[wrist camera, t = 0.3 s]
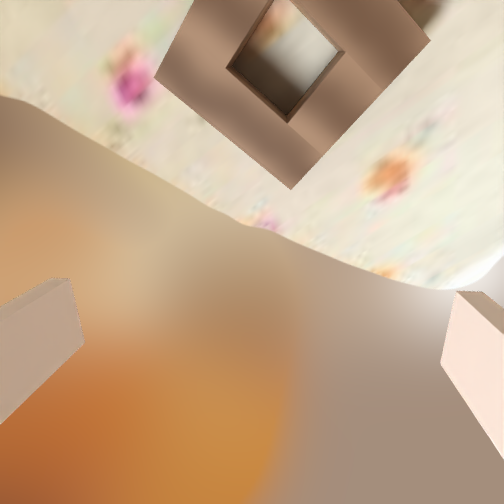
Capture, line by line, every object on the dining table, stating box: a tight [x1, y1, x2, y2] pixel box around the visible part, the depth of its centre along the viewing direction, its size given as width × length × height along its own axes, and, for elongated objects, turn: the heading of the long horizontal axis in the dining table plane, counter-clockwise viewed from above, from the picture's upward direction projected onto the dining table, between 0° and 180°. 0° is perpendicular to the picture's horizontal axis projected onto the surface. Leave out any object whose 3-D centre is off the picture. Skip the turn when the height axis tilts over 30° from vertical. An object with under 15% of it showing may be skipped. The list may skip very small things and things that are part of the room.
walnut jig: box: [154, 0, 431, 190], centre depth 27 cm, size 16×16×4 cm
